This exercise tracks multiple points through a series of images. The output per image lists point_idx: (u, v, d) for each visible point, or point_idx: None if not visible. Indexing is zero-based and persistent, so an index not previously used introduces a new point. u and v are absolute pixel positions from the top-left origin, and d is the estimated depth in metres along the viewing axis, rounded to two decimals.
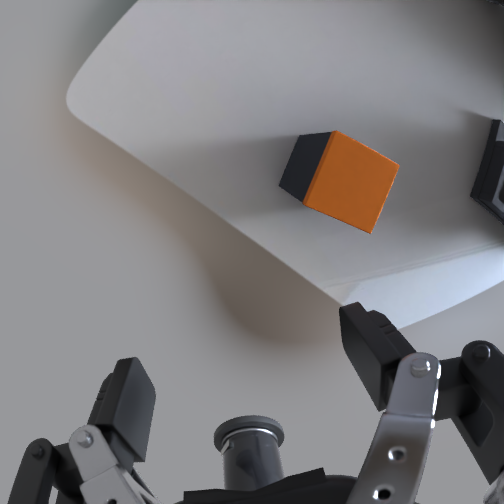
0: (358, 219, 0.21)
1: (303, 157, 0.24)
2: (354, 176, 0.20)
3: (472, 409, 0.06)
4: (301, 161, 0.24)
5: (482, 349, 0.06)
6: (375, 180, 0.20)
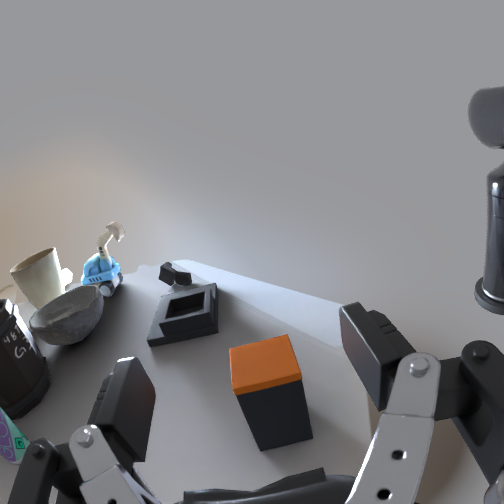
0: (284, 344, 0.26)
1: (273, 421, 0.24)
2: (257, 363, 0.25)
3: (472, 409, 0.06)
4: (277, 420, 0.24)
5: (482, 348, 0.06)
6: (250, 353, 0.26)
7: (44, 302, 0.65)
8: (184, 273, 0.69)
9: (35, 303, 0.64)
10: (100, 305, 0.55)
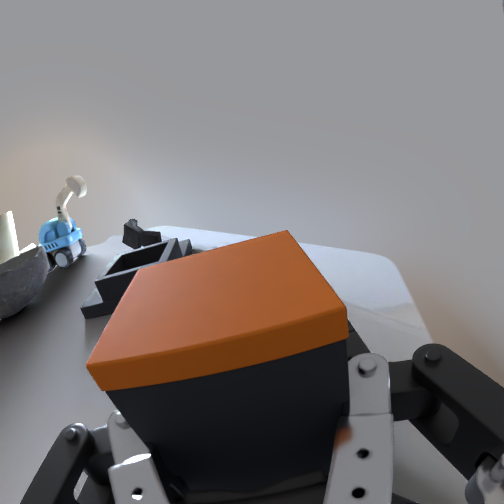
0: (279, 246, 0.09)
1: (247, 475, 0.07)
2: (191, 292, 0.08)
3: (427, 413, 0.07)
4: (260, 475, 0.07)
5: (434, 352, 0.07)
6: (182, 271, 0.09)
7: None
8: (152, 232, 0.52)
9: None
10: (39, 267, 0.38)
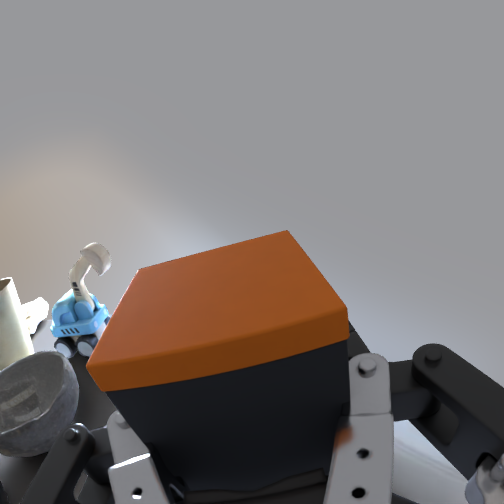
0: (280, 246, 0.09)
1: (247, 476, 0.07)
2: (191, 292, 0.08)
3: (427, 413, 0.07)
4: (260, 475, 0.07)
5: (434, 352, 0.07)
6: (182, 271, 0.09)
7: (1, 361, 0.37)
8: None
9: None
10: (71, 400, 0.27)
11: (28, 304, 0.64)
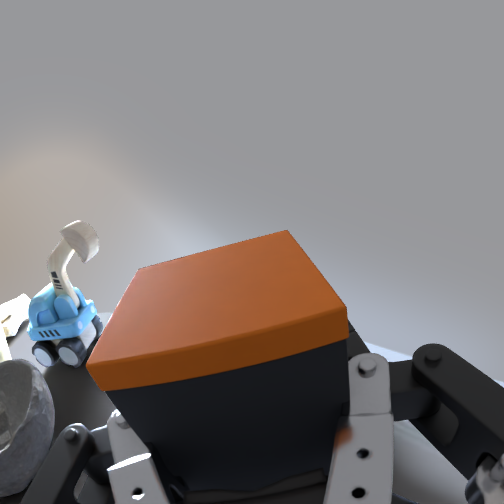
0: (279, 246, 0.09)
1: (247, 476, 0.07)
2: (191, 292, 0.08)
3: (427, 412, 0.07)
4: (259, 475, 0.07)
5: (434, 351, 0.07)
6: (182, 271, 0.09)
7: None
8: None
9: None
10: (42, 431, 0.17)
11: (11, 302, 0.53)
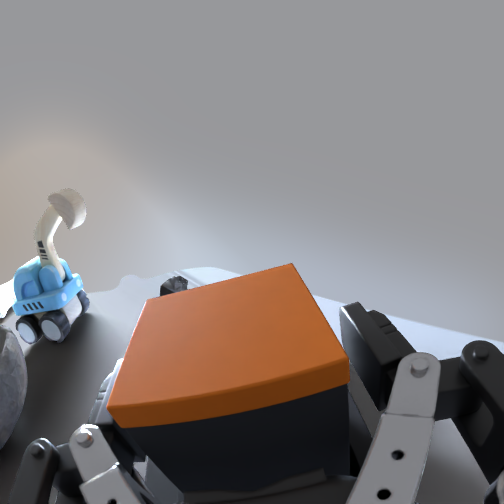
0: (285, 283, 0.10)
1: None
2: (201, 332, 0.08)
3: (472, 409, 0.06)
4: None
5: (483, 348, 0.06)
6: (191, 306, 0.10)
7: None
8: None
9: None
10: (8, 393, 0.15)
11: (2, 286, 0.52)
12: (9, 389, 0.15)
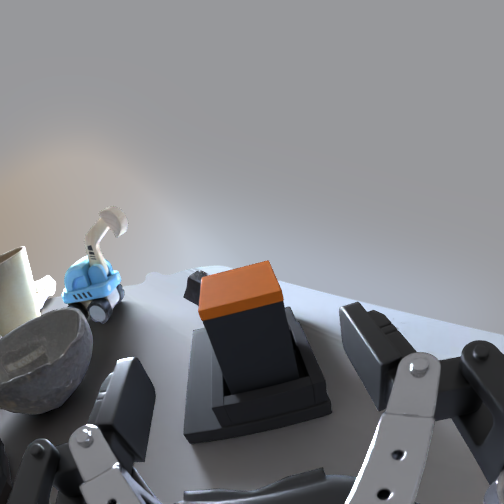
0: (264, 268, 0.23)
1: (250, 364, 0.21)
2: (231, 286, 0.22)
3: (472, 409, 0.06)
4: (256, 364, 0.21)
5: (482, 348, 0.06)
6: (224, 278, 0.23)
7: (9, 328, 0.39)
8: None
9: None
10: (86, 349, 0.29)
11: (35, 282, 0.65)
12: (86, 347, 0.29)
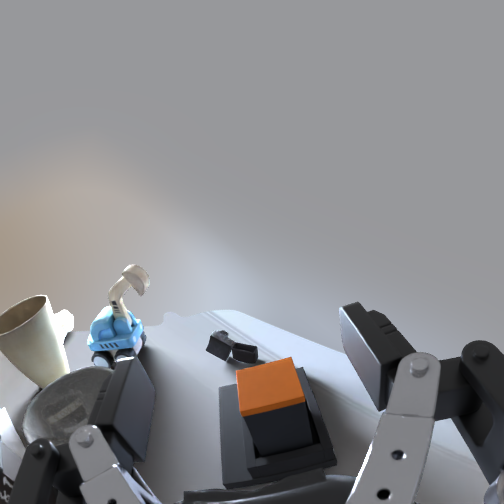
0: (288, 367, 0.27)
1: (277, 438, 0.25)
2: (263, 386, 0.26)
3: (472, 409, 0.06)
4: (281, 438, 0.25)
5: (482, 349, 0.06)
6: (256, 375, 0.27)
7: (39, 375, 0.42)
8: (247, 346, 0.46)
9: (27, 375, 0.42)
10: None
11: None
12: None
